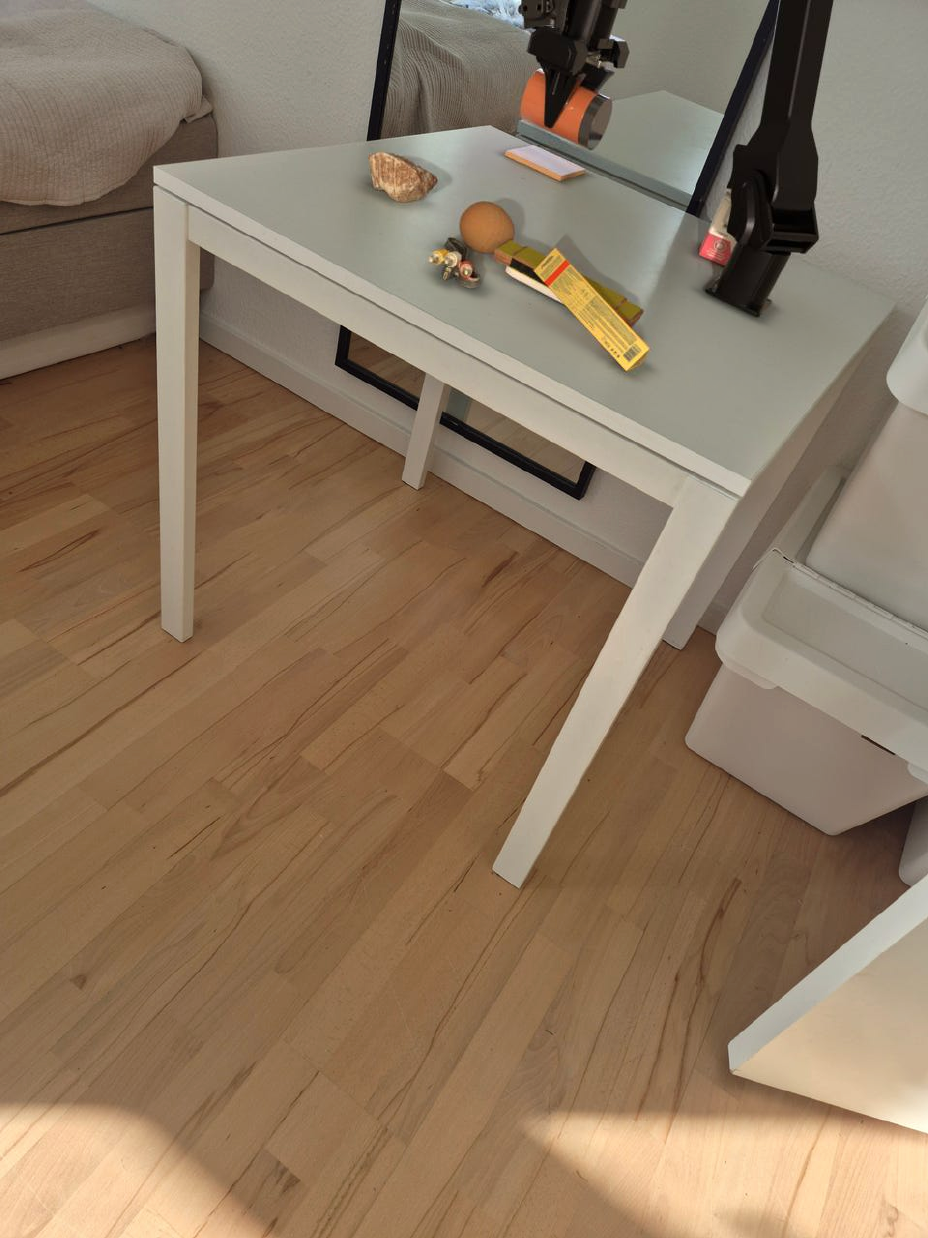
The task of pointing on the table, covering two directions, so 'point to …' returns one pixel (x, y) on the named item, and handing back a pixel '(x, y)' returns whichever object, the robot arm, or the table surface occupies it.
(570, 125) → the jar
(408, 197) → the stone
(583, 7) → the robot arm
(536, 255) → the olive brown bar
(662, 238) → the table surface
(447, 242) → the composite cable
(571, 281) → the chocolate bar
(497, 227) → the egg
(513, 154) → the coaster
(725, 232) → the ink box
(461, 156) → the table surface
